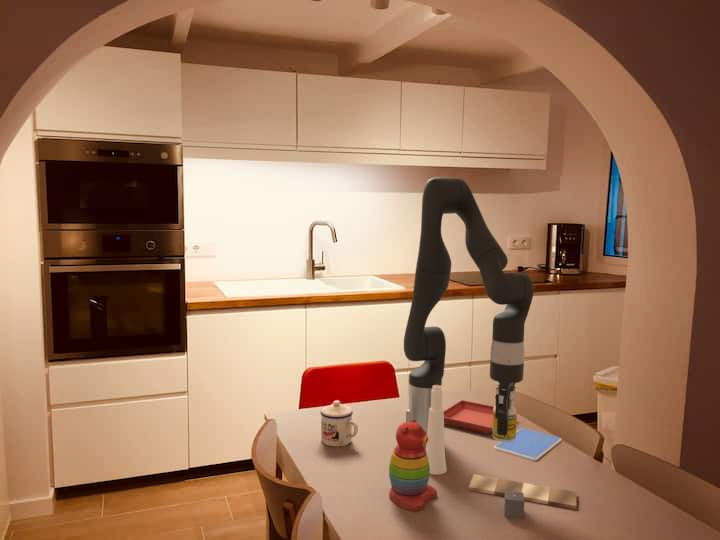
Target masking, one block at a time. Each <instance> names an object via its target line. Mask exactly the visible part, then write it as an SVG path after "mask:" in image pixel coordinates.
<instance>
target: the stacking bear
mask: <svg viewBox="0 0 720 540" xmlns="http://www.w3.org/2000/svg"><path fill="white" fill-rule="evenodd" d="M395 431H396V432H395V438H396V443H397V445H396V446H395V447H394V449H393V450H392V453H391V456H390V460H389V466H388V476H389V480H390V486H391V487H390V490H389V492H388V496H389V498H390V500H391V501H392V502H393V503H395V504H396V505H397V506H399V507H401V508H402V509H403V508H404V509H406V510H409V511H413V512H419V511H422V510H424V509H425V508H426V507H425V504H426V502H427V501H428V500H429V501H430V500H432V499H435V498H436V497H437V496H438V492H437V490H436V488H435V487H434V486H432V485H430V484H428V483H429V480H430V475H431V474H430V467H429V462H428V457H427V453H426V448H424V446H425V445H426V444H427V442H428V435H427V433H426V432H425V431H424V429H423V428H422V427H421V425H419V424H418V423H415V420H414V419H412V420H411V421H410V422H406V421H405V422H403V423H401V424H400V425H399V426H398V427H397V429H396V430H395Z"/></svg>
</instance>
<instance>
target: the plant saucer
mask: <svg viewBox="0 0 720 540" xmlns="http://www.w3.org/2000/svg"><path fill="white" fill-rule="evenodd" d="M494 407H495V405H488V404H483V403H479V402H474V401H469V400H463V399H462V400H460V401H458V402H456V403H455V404H453V405H451V406H450V407H448V408H447V409H444V425H448V424H449V425H450V426H453V425H454V426H453V427H457V426H458V428H461V427H462V428H461V429H465V428H466V430H469V429H470V430H471V431H474V432H477V433H478V432H479V433H482V434H487V435H488V434H491V433H492V432H493V408H494Z"/></svg>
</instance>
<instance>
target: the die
mask: <svg viewBox="0 0 720 540" xmlns="http://www.w3.org/2000/svg"><path fill="white" fill-rule="evenodd" d="M503 508H504V510H503V511H504V512H503V515H504V517H507V518H508V517H509V518H516V519H524V513H525V500H524V494H523V492H514V491H506V490H505V497H504V502H503Z"/></svg>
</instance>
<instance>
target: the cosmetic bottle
mask: <svg viewBox="0 0 720 540" xmlns="http://www.w3.org/2000/svg"><path fill="white" fill-rule="evenodd" d="M444 411H445V409H444V408H443V389H441V386H440V385H433V389H432V390H431V407H430V408H429V417H428V431H427V435H428V442H427V444H426V448H425V449H426V453H427V457H428V462H429V467H430V474H429V475H432V476H433V475H434V476H438V475H444V474H446V472H447V469H448V468H447V463H446V455H445V454H446V451H445V423H444Z"/></svg>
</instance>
